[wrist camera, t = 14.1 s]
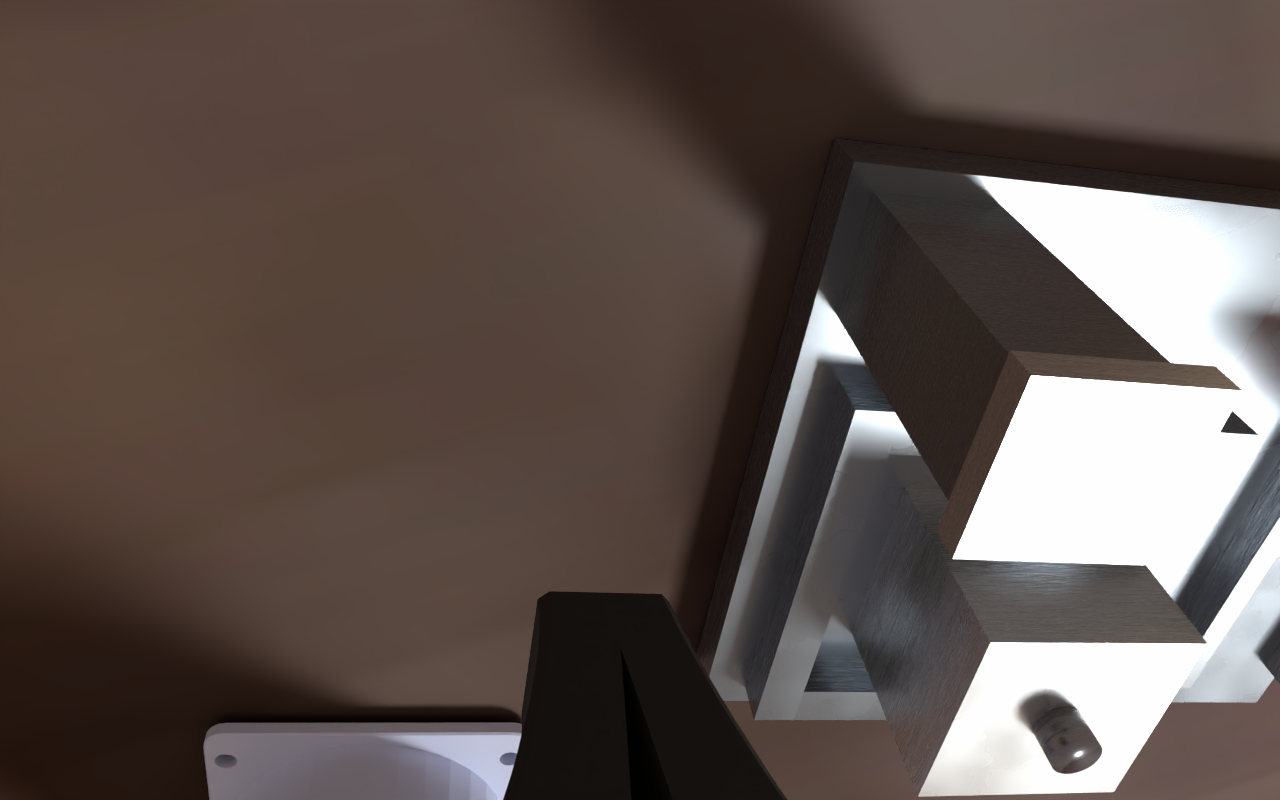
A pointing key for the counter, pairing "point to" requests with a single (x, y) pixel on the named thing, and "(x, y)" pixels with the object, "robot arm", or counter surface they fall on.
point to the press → (1011, 409)
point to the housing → (1016, 663)
